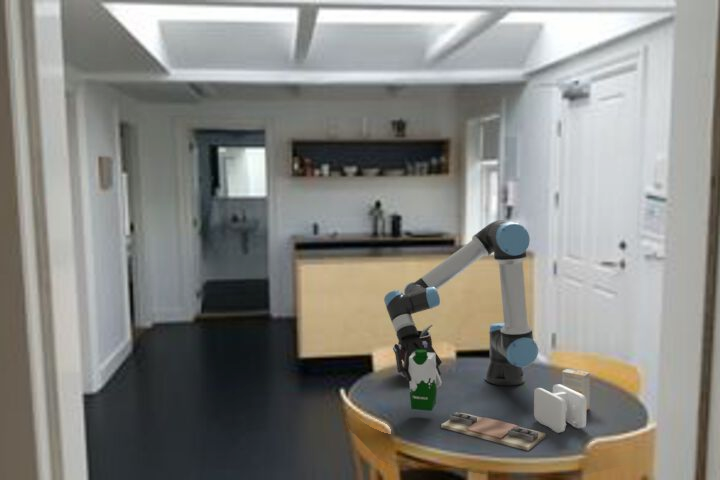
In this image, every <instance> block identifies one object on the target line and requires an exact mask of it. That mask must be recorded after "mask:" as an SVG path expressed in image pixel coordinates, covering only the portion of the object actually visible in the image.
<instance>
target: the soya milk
mask: <svg viewBox="0 0 720 480" xmlns="http://www.w3.org/2000/svg"><path fill="white" fill-rule="evenodd" d="M436 354H437V352H436V353H431V352H427V350H425V349H417V350H415V352H414V353H412V355H411V356H410V357H409V370H410V372H411V374H412V376H413V377H414V379H415V382H416V384H417V389H416V390H415V391H413V390H412V387H411V384H410V383H409V397H410V398H409V401H410V408H411V410H419V411H433V409H434V407H435V405H436V404H437V394H438V393H437V389H438V387H437V381H436Z"/></svg>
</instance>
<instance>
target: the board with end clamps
mask: <svg viewBox="0 0 720 480" xmlns="http://www.w3.org/2000/svg"><path fill="white" fill-rule="evenodd" d="M440 428H442V429H446V430H450V431H453V432H456V433H461V434H464V435H468V436H472V437H475V438H479V439H483V440H486V441H491V442H494V443H497V444H501V445H505V446H509V447H512V448H515V449H521V450H523V451H528V452H529V451H530V450H531V449H532V448H533V447H535V446H536V445H537V444H538V443H539V442H541V441H542V440H543V439H545V437H546V433H545V432H541V431H538V430H533V429H529V428H524V427H521V426H519V425H518V424H513V423H510V422H505V421H502V420H497V419H493V418H490V417H489V418H488V417H486V416H484V417H481V416H477V415H472V414H469V413H464V412H457V411H455V412H454V413H453V414H450V415H449V419H448V420H447V421H445V422H443V423H441V426H440Z"/></svg>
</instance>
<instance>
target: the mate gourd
mask: <svg viewBox="0 0 720 480" xmlns="http://www.w3.org/2000/svg"><path fill="white" fill-rule="evenodd" d="M431 327H433V324H430V325H428V326H426V327H425V328H424V329H422V330H420V329H419V330H418V329H417V331H418V333H419V337H420V339H421V340H422V341H427V340H430V343H431V346H432V347H433V342H432V341H433V340H432V337H431V332H429V330H430V328H431ZM399 344H400V343H399V341H398V342H397V345H399ZM422 347H423V348H424V345H422ZM424 349H425V350H426V348H424ZM400 351H401V357H402V363H404V359H405V351H404V350H403V349H401V350H400ZM411 355H412V354H411ZM411 355H410V356H411ZM408 371H409V369H408ZM400 375H401V376H402V377H403V378H405V375H403V373H402V372H401V373H400Z"/></svg>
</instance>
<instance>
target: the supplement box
mask: <svg viewBox="0 0 720 480" xmlns="http://www.w3.org/2000/svg"><path fill="white" fill-rule="evenodd" d="M590 374H591V373H590V372H588V371H582V370H577V369H573V368H567V369H564V370H562V371H561V385H563V386H565V387H567V388H570V389H572V390H574V391H576V392H578V393H581V394H582V395H584V396H585V398H586V402H587V403H586V412H587V411H588V410H590V387H591V385H590Z"/></svg>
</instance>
